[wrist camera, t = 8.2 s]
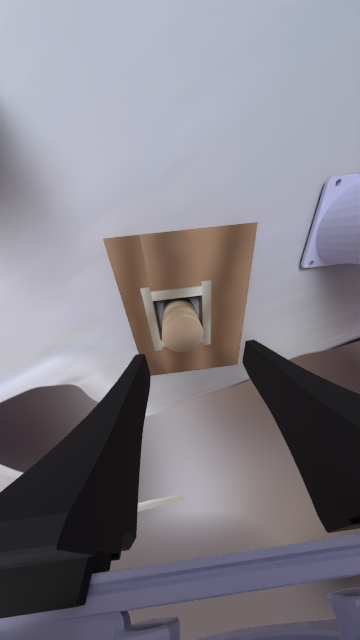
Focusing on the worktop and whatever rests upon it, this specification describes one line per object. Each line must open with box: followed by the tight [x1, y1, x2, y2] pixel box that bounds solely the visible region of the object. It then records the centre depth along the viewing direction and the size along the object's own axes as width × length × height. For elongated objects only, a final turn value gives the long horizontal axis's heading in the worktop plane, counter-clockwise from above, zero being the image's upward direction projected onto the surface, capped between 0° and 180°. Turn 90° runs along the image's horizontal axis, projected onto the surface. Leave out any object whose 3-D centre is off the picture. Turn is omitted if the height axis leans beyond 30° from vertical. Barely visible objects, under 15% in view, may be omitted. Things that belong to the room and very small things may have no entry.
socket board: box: [103, 222, 257, 376], centre depth 18 cm, size 14×18×2 cm
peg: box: [162, 297, 204, 352], centre depth 16 cm, size 4×4×6 cm
